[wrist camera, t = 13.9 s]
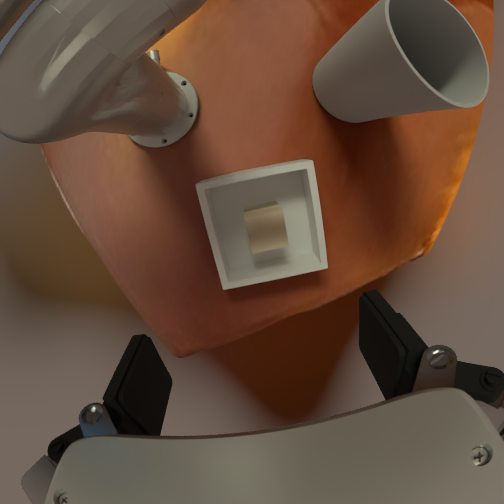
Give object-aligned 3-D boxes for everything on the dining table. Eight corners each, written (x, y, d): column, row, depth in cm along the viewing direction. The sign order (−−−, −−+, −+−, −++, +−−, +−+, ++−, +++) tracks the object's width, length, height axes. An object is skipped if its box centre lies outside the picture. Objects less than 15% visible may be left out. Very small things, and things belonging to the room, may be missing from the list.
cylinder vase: (295, 83, 36) (355, 12, 12) (342, 41, 33) (422, -28, 9) (351, 138, 39) (458, 135, 16) (393, 94, 36) (501, 71, 13)
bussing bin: (201, 180, 41) (195, 184, 35) (303, 159, 40) (312, 160, 35) (225, 273, 46) (223, 289, 41) (318, 253, 46) (327, 268, 40)
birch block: (244, 207, 42) (244, 218, 35) (276, 200, 41) (282, 210, 35) (250, 237, 43) (252, 253, 37) (282, 231, 43) (289, 246, 37)
